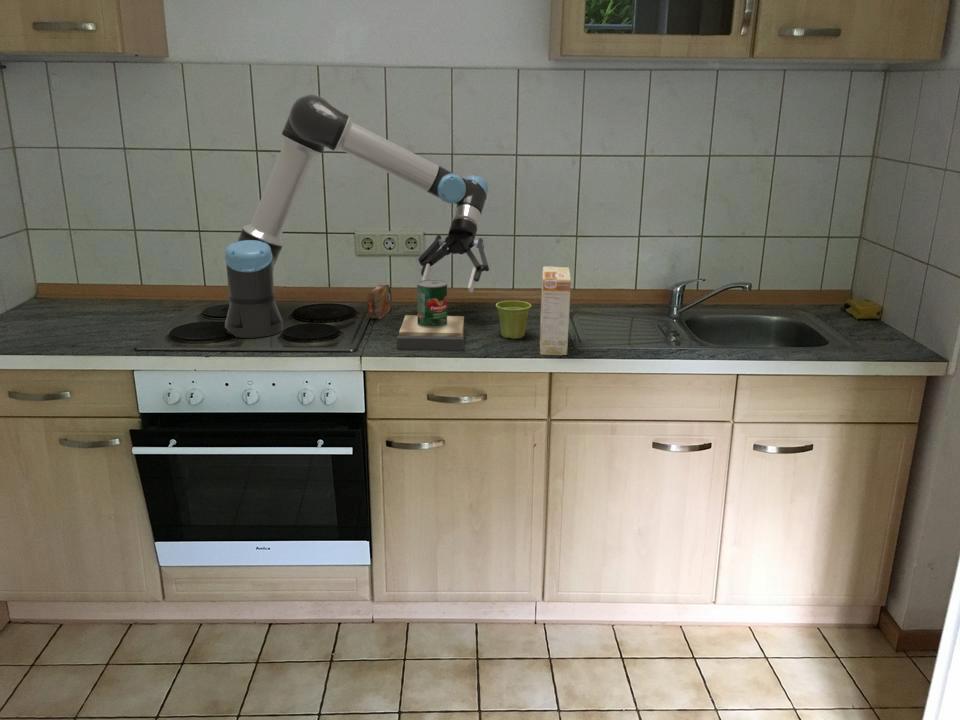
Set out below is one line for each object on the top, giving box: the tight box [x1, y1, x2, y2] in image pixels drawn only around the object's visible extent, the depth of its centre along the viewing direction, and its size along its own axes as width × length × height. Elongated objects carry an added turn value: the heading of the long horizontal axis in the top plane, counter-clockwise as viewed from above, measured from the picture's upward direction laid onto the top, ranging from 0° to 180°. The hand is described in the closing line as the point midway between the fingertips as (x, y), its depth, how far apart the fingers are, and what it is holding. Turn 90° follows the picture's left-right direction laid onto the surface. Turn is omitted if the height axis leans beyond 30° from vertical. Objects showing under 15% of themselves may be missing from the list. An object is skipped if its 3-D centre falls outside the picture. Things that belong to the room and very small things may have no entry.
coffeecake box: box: [539, 265, 572, 356], centre depth 198 cm, size 15×7×20 cm, turn 175°
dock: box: [396, 314, 465, 351], centre depth 205 cm, size 17×18×4 cm
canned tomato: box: [416, 279, 448, 328], centre depth 203 cm, size 8×8×11 cm
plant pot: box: [495, 300, 532, 340], centre depth 208 cm, size 9×9×9 cm
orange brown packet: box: [366, 284, 393, 320], centre depth 226 cm, size 15×3×8 cm, turn 168°
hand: (446, 288), depth 212 cm, fingers open, 13 cm apart
